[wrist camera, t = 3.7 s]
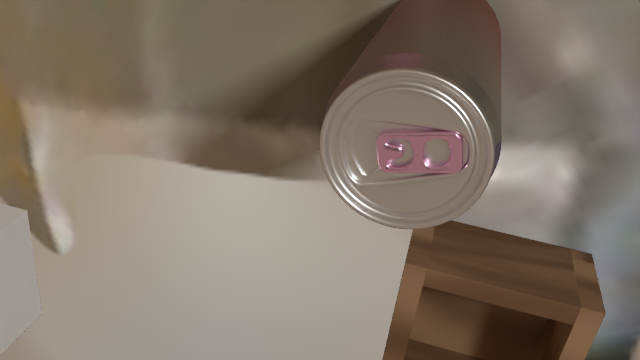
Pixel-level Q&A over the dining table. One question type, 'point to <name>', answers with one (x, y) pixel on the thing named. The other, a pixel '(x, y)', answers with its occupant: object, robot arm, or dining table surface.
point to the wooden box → (493, 298)
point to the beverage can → (418, 115)
